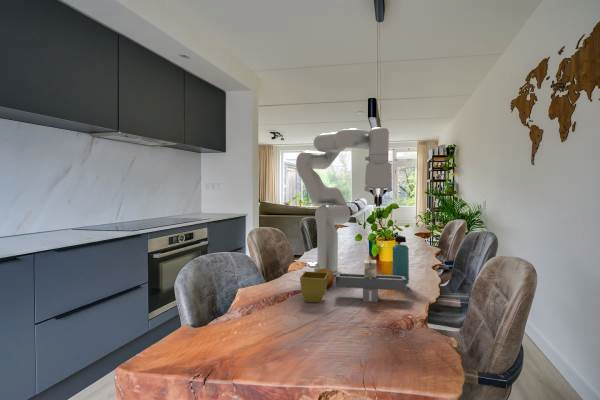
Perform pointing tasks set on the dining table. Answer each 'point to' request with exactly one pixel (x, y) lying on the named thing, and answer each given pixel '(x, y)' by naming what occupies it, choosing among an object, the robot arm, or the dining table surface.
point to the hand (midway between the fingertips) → (377, 206)
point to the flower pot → (313, 286)
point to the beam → (371, 284)
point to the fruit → (330, 276)
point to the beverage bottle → (400, 259)
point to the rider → (370, 268)
